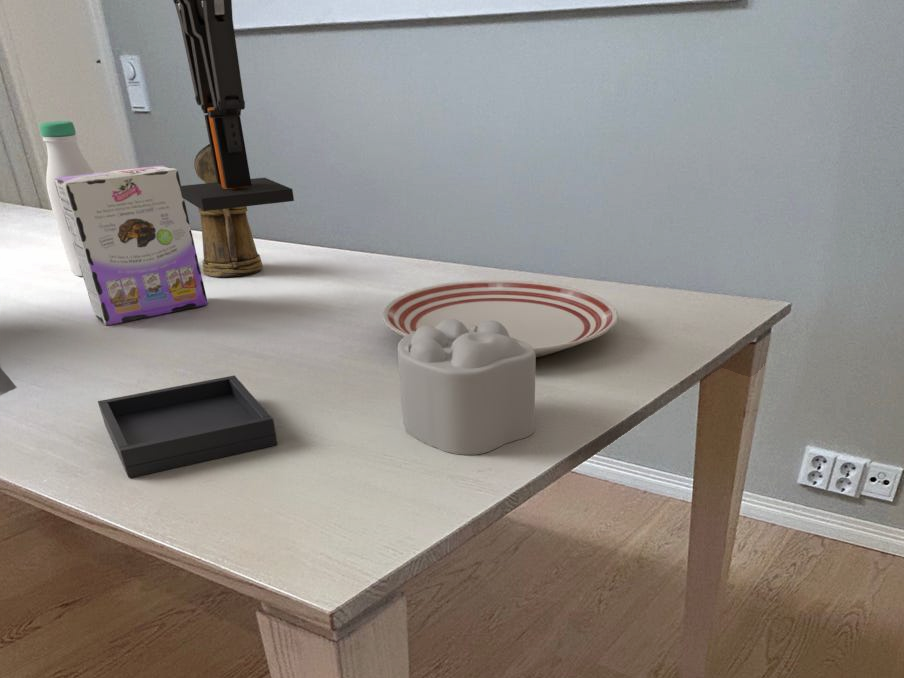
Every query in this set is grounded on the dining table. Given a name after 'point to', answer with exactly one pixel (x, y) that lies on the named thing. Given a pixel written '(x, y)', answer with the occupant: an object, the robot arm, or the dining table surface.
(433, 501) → the dining table surface
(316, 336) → the dining table surface
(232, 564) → the dining table surface
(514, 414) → the lumpy-topped squat cylinder
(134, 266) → the candy box
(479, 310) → the dinner plate
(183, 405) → the shallow rectangular tray
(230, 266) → the wooden mug
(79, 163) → the milk bottle
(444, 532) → the dining table surface
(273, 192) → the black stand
